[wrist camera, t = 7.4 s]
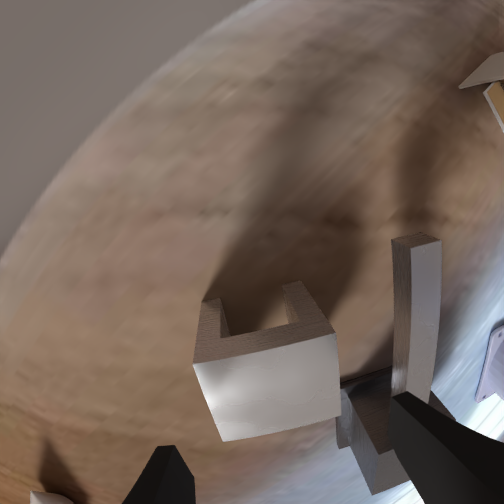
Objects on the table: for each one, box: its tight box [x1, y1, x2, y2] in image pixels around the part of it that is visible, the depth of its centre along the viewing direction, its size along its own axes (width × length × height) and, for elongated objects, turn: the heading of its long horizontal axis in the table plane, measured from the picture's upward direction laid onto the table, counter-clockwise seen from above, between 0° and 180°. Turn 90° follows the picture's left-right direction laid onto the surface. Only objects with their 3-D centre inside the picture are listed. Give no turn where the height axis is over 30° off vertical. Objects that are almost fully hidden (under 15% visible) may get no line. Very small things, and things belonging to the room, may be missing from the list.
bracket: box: [193, 280, 341, 442], centre depth 14 cm, size 5×4×6 cm
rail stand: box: [336, 232, 456, 495], centre depth 15 cm, size 6×16×6 cm, turn 11°
